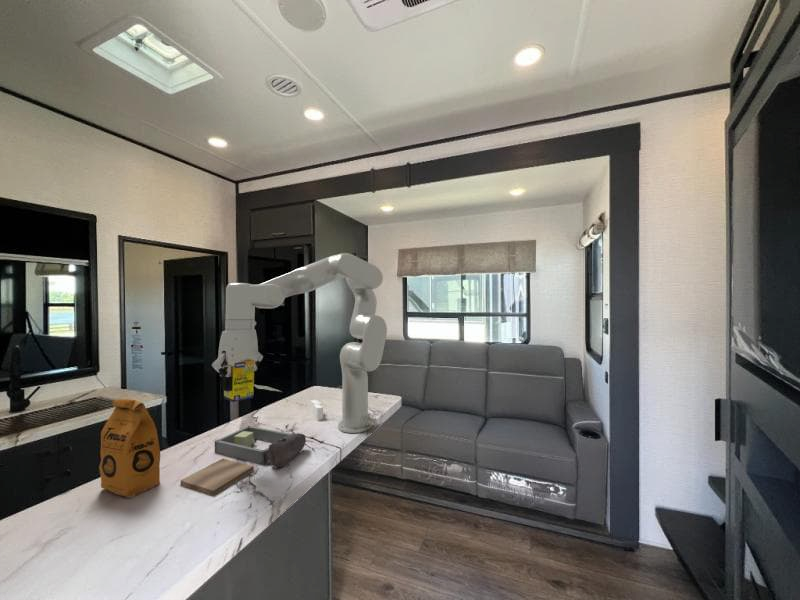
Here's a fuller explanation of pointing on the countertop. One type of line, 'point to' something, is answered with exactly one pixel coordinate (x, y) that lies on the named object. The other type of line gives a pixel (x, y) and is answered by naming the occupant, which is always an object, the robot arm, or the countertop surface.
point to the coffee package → (129, 450)
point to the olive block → (244, 438)
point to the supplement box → (241, 381)
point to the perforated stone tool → (286, 449)
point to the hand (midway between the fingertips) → (239, 386)
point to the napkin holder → (316, 409)
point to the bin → (248, 453)
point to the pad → (217, 476)
